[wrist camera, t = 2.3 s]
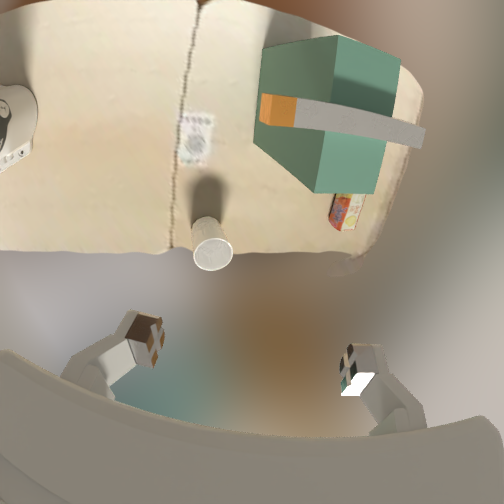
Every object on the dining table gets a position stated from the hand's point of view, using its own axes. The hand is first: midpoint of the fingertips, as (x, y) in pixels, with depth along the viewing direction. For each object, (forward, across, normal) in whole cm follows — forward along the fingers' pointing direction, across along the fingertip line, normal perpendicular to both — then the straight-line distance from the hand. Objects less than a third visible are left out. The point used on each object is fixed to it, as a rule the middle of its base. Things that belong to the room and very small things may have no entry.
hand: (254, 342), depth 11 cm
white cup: (+46, +14, +21) cm, 53 cm away
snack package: (+60, -18, +10) cm, 63 cm away
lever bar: (+26, -8, -8) cm, 28 cm away
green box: (+50, 0, -9) cm, 51 cm away
